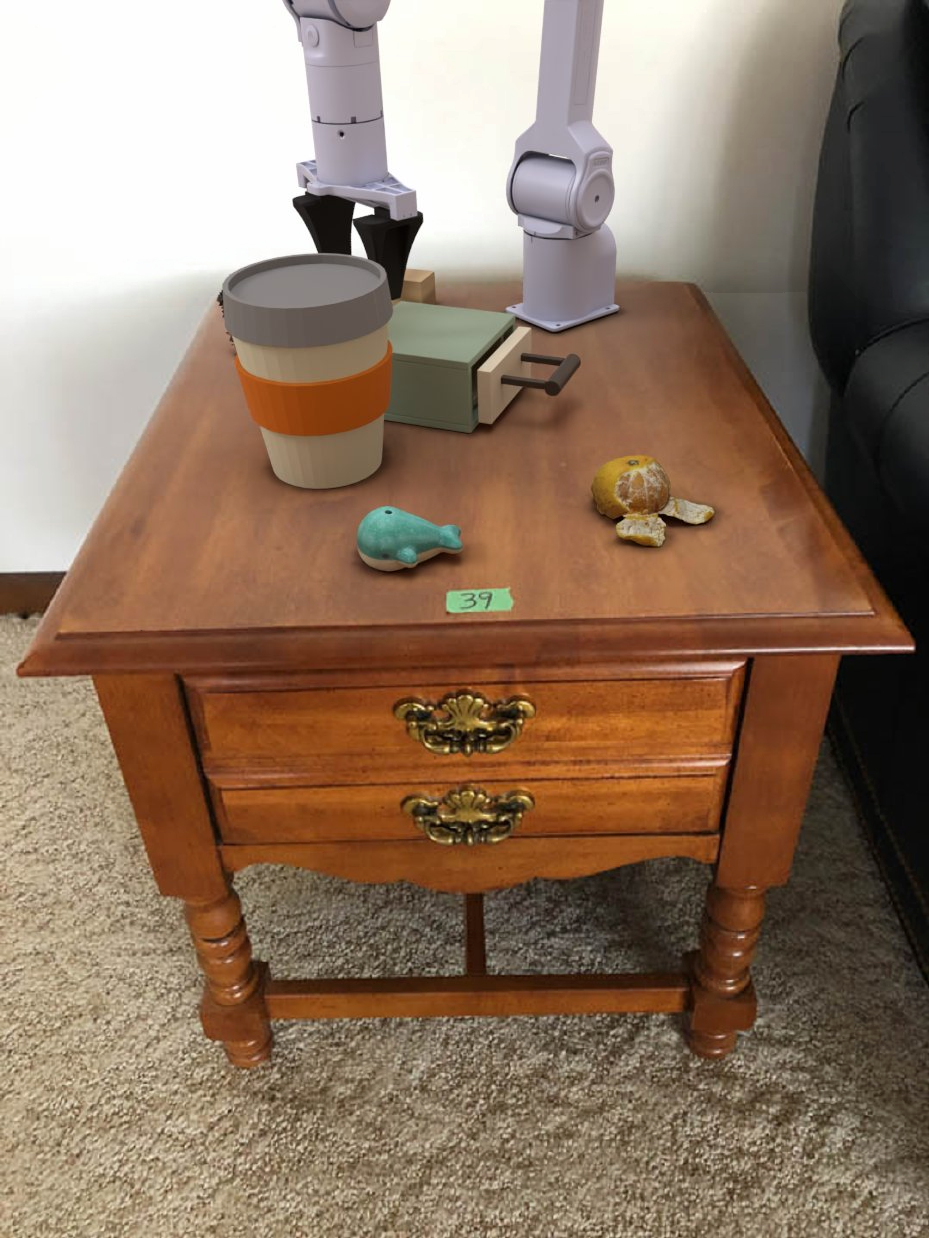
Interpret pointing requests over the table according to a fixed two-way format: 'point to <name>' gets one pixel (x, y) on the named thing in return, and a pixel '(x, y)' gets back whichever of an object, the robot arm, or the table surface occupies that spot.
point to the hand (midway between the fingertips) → (363, 288)
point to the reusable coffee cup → (314, 362)
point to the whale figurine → (403, 539)
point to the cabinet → (439, 362)
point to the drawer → (514, 373)
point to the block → (418, 287)
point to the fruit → (641, 499)
